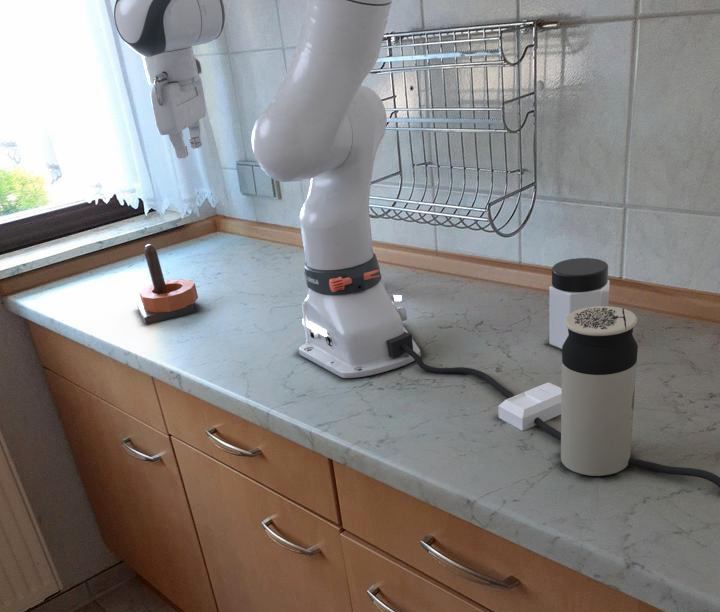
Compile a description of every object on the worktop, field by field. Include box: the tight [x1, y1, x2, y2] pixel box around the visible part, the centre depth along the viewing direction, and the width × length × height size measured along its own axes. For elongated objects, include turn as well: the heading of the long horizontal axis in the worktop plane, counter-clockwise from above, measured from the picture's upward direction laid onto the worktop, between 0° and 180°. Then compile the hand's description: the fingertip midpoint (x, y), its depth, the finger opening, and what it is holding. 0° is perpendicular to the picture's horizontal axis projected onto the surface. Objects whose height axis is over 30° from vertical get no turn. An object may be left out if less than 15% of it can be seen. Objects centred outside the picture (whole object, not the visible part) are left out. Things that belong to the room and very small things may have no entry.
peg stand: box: [136, 243, 196, 325], centre depth 158 cm, size 10×10×14 cm
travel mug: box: [560, 305, 639, 477], centre depth 90 cm, size 8×8×18 cm
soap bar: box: [497, 382, 562, 432], centre depth 106 cm, size 5×9×3 cm, turn 120°
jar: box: [548, 257, 611, 350], centre depth 121 cm, size 9×8×12 cm
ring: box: [139, 278, 199, 313], centre depth 160 cm, size 11×11×3 cm
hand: (190, 152), depth 147 cm, fingers open, 8 cm apart
